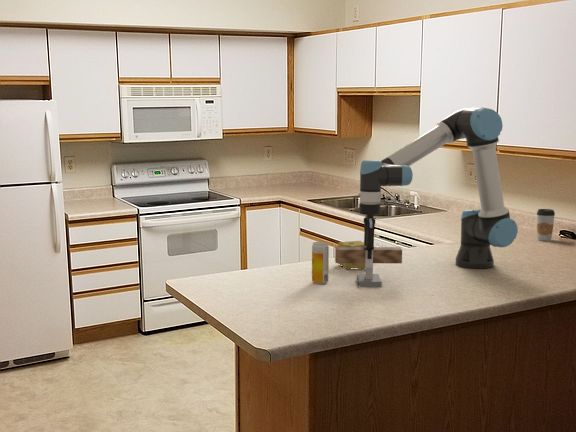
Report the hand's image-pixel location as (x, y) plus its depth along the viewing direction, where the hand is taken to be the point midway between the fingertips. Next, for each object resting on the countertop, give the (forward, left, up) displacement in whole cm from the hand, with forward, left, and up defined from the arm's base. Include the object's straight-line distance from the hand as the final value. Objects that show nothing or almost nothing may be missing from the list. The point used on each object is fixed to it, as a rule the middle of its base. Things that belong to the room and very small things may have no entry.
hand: (368, 265), depth 252 cm
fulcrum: (0, 0, -7) cm, 7 cm away
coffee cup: (-93, -86, -7) cm, 127 cm away
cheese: (+4, -27, -7) cm, 28 cm away
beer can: (+18, 0, -7) cm, 19 cm away
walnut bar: (0, 0, +1) cm, 1 cm away
